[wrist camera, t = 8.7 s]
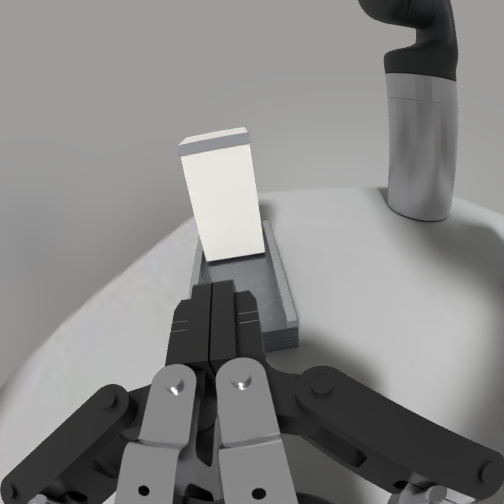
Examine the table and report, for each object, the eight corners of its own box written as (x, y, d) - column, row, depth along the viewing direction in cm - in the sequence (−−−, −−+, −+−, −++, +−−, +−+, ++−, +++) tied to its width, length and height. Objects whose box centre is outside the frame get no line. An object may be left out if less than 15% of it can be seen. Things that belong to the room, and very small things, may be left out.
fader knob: (266, 252, 23) (249, 132, 18) (205, 262, 23) (176, 145, 18) (261, 229, 27) (245, 126, 22) (208, 238, 27) (185, 137, 22)
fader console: (298, 346, 17) (297, 319, 16) (194, 360, 18) (183, 336, 16) (270, 241, 29) (268, 219, 28) (205, 252, 29) (199, 231, 28)
